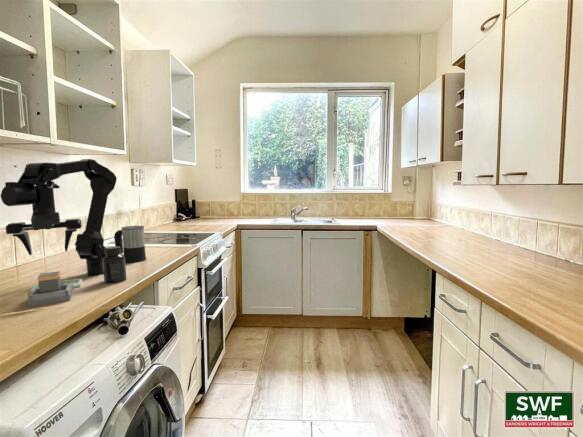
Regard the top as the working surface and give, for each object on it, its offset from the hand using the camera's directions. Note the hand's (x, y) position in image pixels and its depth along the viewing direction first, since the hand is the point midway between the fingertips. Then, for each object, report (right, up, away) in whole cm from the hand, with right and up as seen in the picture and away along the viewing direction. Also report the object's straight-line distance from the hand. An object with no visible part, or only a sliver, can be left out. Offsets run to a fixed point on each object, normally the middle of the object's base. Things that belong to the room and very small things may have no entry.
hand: (48, 253), depth 108 cm
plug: (+8, -11, -10) cm, 17 cm away
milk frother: (+6, -8, +38) cm, 39 cm away
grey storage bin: (+7, -13, -8) cm, 16 cm away
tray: (+1, -12, +3) cm, 12 cm away
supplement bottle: (+17, -11, +8) cm, 22 cm away
